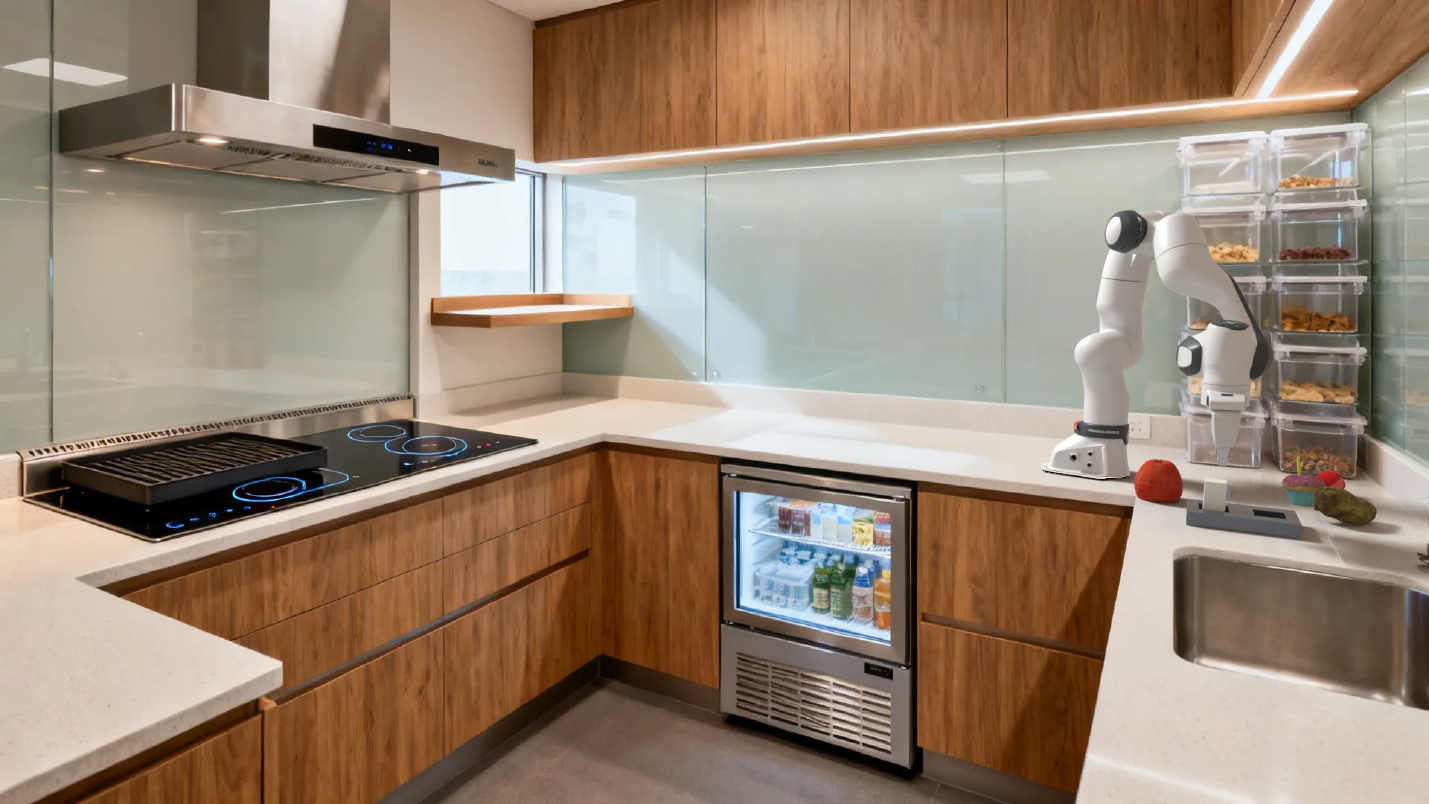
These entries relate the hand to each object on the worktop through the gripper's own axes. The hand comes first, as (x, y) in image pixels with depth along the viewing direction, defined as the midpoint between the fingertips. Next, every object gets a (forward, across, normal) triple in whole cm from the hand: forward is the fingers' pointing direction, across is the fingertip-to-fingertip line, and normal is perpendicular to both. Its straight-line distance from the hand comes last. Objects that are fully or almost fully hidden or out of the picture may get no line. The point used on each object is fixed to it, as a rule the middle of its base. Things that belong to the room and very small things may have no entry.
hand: (1220, 461), depth 173 cm
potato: (+15, -15, +24) cm, 32 cm away
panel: (+14, 0, +4) cm, 15 cm away
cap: (+14, -42, +24) cm, 51 cm away
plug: (+13, 0, -1) cm, 13 cm away
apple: (+14, -15, -12) cm, 24 cm away
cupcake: (+14, -30, +18) cm, 38 cm away
